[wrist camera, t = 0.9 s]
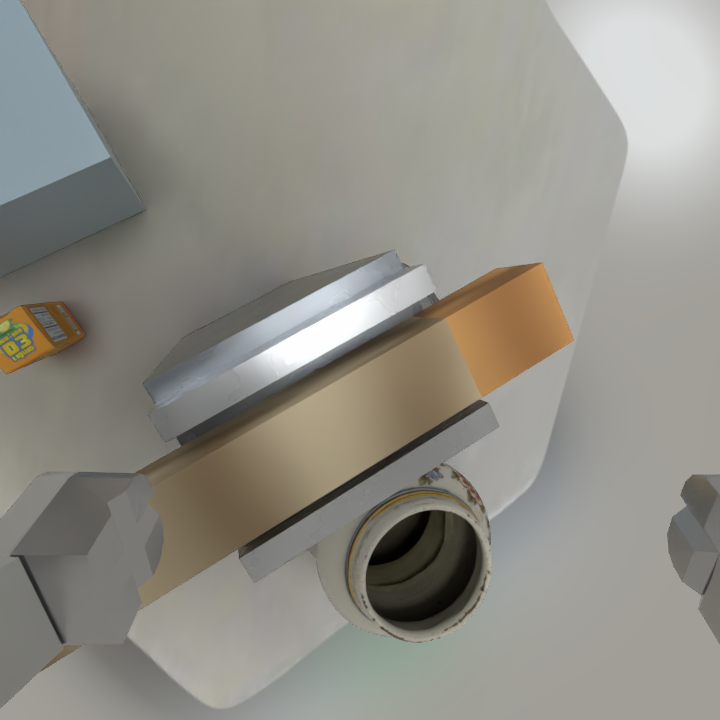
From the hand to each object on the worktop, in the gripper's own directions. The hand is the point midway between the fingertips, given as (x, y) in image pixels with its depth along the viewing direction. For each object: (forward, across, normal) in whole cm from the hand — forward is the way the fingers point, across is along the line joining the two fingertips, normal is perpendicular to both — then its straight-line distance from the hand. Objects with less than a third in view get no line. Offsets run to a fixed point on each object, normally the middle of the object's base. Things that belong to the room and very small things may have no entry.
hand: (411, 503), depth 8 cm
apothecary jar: (+30, +3, +27) cm, 41 cm away
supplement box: (+29, +25, +11) cm, 40 cm away
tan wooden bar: (+9, +5, +6) cm, 11 cm away
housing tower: (+33, +10, +15) cm, 37 cm away
